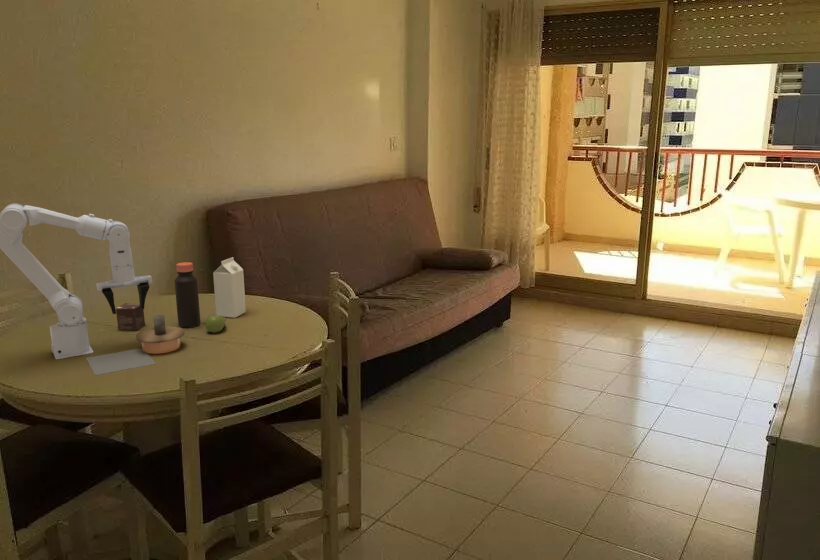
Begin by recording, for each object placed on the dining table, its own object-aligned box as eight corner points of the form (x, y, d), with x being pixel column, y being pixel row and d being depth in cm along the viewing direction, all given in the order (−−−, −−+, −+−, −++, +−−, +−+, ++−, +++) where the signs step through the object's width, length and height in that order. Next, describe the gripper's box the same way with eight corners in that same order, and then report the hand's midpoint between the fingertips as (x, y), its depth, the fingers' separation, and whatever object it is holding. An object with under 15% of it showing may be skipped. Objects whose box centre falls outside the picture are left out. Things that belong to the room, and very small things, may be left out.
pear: (202, 317, 203) (210, 313, 212) (203, 334, 203) (211, 329, 213) (221, 316, 203) (228, 312, 213) (222, 333, 203) (228, 328, 213)
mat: (95, 376, 171) (95, 375, 171) (86, 359, 183) (85, 357, 183) (156, 364, 179) (155, 363, 179) (143, 349, 191) (143, 347, 191)
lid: (140, 346, 182) (138, 326, 180) (132, 333, 192) (130, 314, 191) (189, 337, 188) (187, 318, 187) (178, 325, 199) (176, 307, 198)
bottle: (178, 322, 215) (173, 262, 210) (200, 320, 217) (195, 260, 212) (178, 329, 209) (172, 266, 204) (200, 327, 211) (195, 265, 206)
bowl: (147, 357, 185) (146, 343, 184) (139, 346, 193) (138, 333, 192) (184, 350, 190) (183, 336, 189) (174, 340, 198) (173, 327, 197)
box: (145, 325, 213) (143, 303, 211) (136, 331, 207) (134, 308, 205) (127, 324, 213) (125, 302, 211) (117, 330, 207) (115, 308, 206)
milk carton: (216, 316, 222) (212, 260, 217) (227, 310, 229) (224, 256, 224) (234, 318, 220) (231, 262, 215) (246, 312, 227) (242, 257, 222)
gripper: (96, 271, 181) (103, 318, 185) (152, 263, 189) (157, 309, 192) (92, 266, 187) (99, 312, 190) (146, 259, 195) (151, 303, 198)
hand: (128, 310), depth 192 cm, fingers open, 7 cm apart
